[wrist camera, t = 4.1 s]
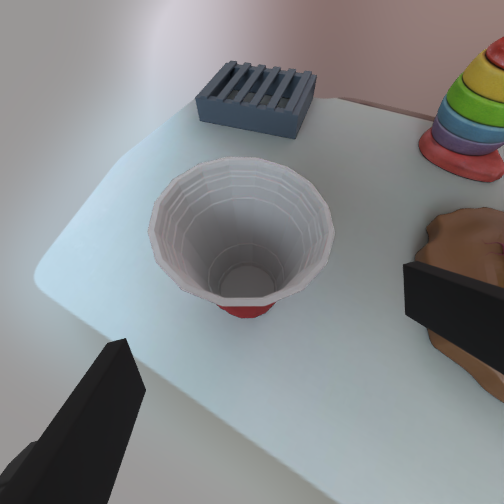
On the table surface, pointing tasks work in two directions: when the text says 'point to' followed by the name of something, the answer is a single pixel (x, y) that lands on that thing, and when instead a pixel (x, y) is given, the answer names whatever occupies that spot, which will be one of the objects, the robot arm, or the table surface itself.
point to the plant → (468, 272)
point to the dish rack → (257, 99)
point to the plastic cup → (241, 233)
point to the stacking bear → (471, 120)
